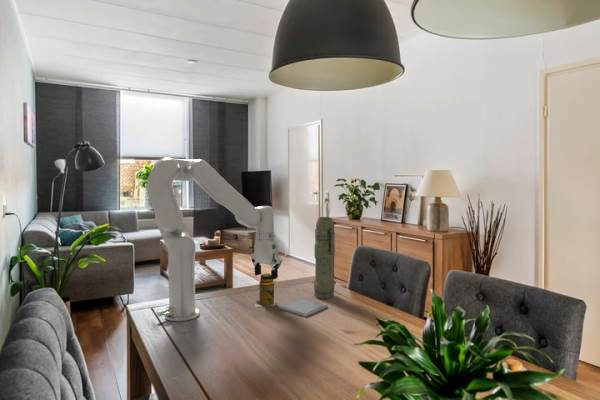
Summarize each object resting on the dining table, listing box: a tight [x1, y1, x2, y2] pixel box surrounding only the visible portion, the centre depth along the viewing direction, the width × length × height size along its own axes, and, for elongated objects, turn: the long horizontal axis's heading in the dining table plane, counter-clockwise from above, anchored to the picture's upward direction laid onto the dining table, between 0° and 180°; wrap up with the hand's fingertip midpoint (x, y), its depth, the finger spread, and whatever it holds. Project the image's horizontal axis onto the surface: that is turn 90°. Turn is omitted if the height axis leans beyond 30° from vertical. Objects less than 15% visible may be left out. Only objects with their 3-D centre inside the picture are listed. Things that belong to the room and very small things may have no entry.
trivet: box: [278, 298, 329, 318], centre depth 154 cm, size 14×14×1 cm
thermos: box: [313, 216, 336, 300], centre depth 169 cm, size 9×12×35 cm
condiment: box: [253, 273, 277, 308], centre depth 160 cm, size 7×8×12 cm
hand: (266, 276), depth 159 cm, fingers open, 9 cm apart
